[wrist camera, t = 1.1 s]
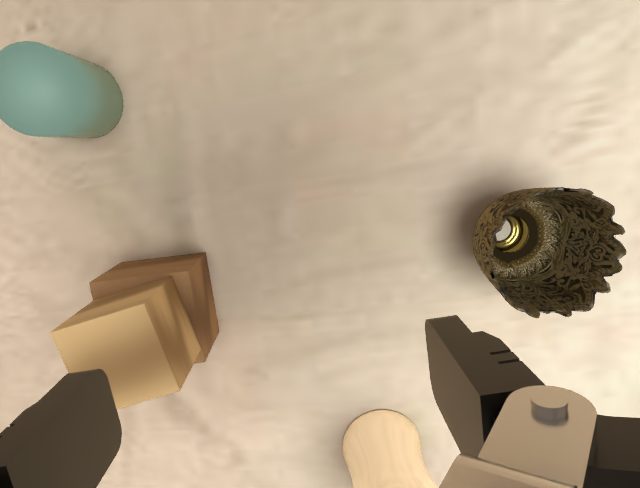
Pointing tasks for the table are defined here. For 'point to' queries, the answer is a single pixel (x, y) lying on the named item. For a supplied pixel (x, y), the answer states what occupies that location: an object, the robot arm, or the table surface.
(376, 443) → the beer glass
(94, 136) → the cylinder
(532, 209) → the cup
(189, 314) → the base block
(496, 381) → the robot arm
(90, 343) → the top block
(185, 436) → the table surface
